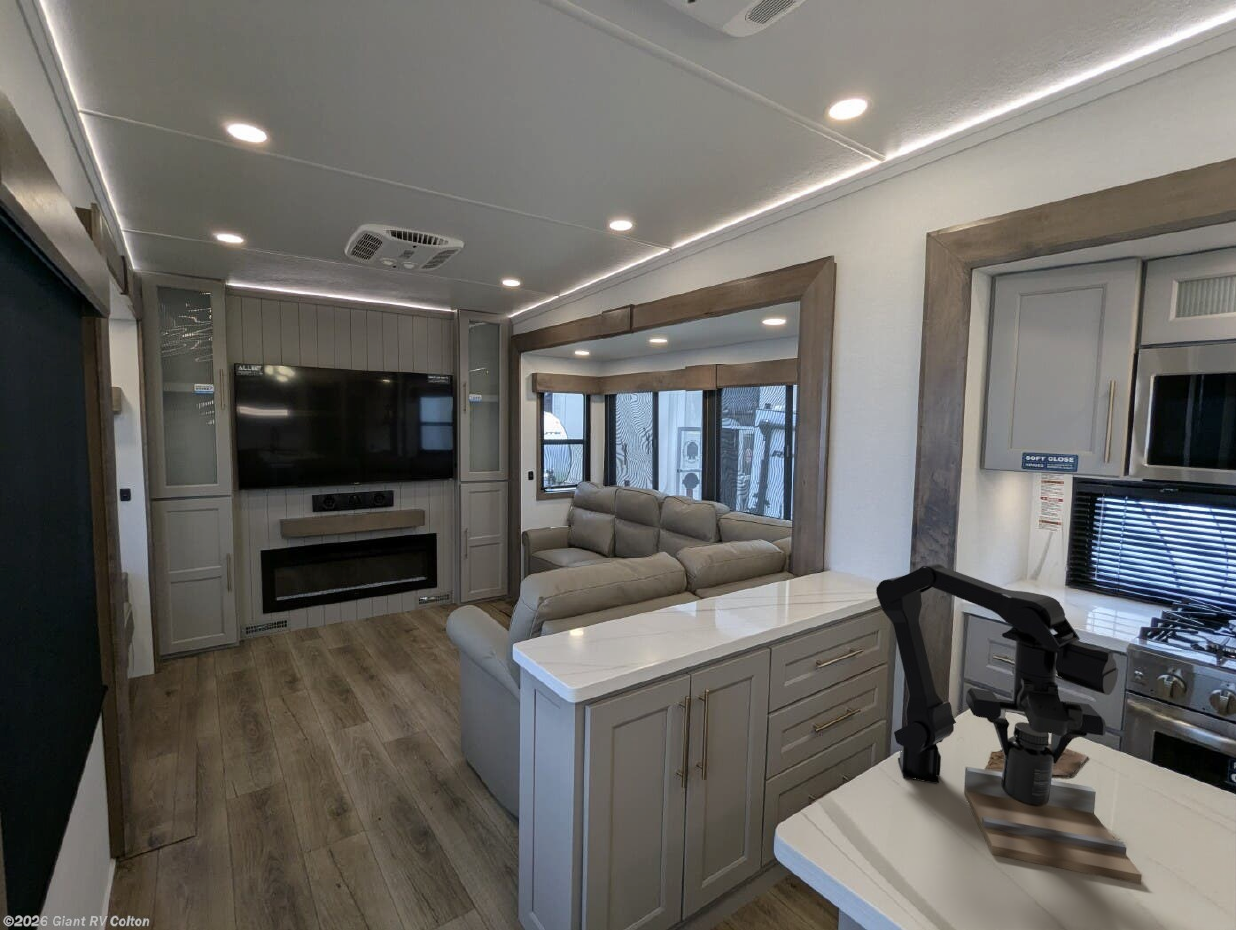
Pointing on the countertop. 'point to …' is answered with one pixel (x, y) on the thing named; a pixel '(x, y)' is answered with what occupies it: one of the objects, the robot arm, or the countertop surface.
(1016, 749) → the supplement bottle
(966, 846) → the countertop surface
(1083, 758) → the wooden fragment
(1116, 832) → the countertop surface
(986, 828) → the cleat board
